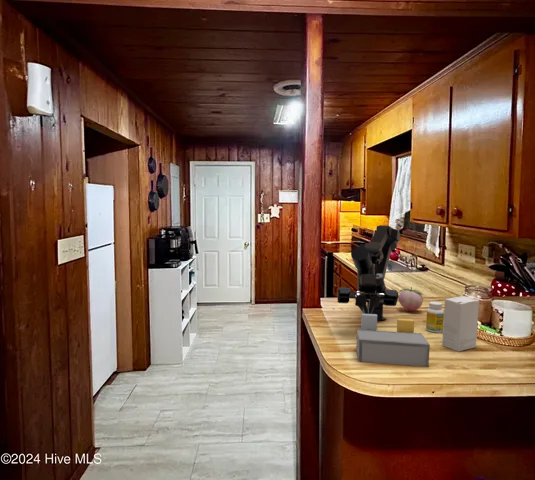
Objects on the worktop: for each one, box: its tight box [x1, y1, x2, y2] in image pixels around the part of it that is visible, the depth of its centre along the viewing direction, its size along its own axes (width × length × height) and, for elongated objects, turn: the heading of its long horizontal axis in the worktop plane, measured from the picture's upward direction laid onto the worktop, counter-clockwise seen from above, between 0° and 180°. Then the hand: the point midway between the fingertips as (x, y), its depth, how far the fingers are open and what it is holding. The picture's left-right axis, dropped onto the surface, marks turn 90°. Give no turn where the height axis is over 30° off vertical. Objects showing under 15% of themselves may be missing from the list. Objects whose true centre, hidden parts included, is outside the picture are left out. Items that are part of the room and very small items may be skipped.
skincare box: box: [441, 295, 480, 352], centre depth 116 cm, size 8×6×15 cm
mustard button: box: [396, 318, 415, 333], centre depth 109 cm, size 10×4×8 cm, turn 171°
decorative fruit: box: [398, 286, 424, 312], centre depth 154 cm, size 9×8×10 cm
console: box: [355, 329, 431, 368], centre depth 107 cm, size 9×18×6 cm, turn 81°
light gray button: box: [360, 313, 378, 331], centre depth 114 cm, size 10×4×8 cm, turn 171°
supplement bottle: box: [425, 301, 444, 334], centre depth 131 cm, size 5×5×10 cm
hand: (368, 319), depth 119 cm, fingers closed
